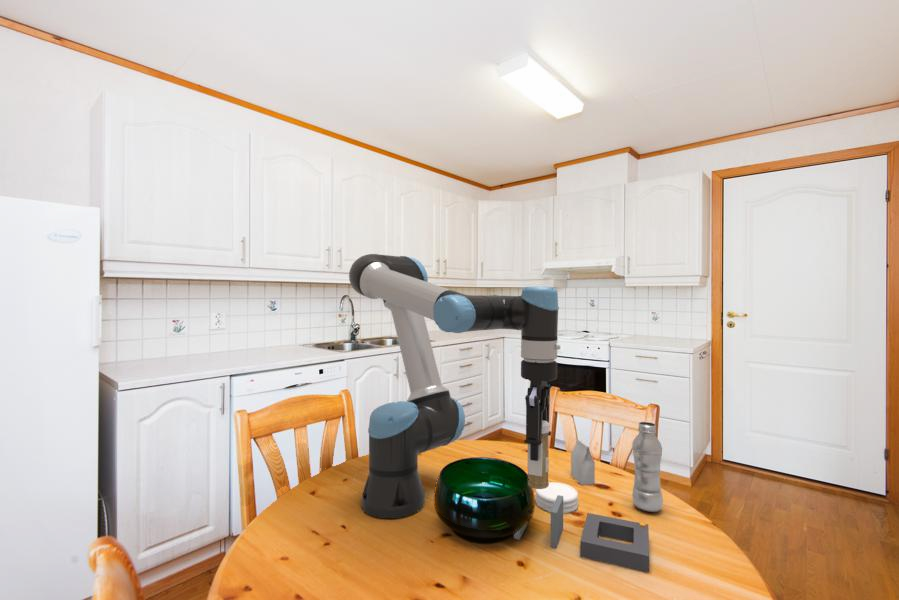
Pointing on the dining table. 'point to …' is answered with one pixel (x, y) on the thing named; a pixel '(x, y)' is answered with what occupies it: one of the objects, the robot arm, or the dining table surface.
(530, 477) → the sprinkles bottle
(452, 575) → the dining table surface
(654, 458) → the plastic bottle
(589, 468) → the grey gabled carton
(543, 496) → the white round stack
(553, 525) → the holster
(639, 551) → the port block
